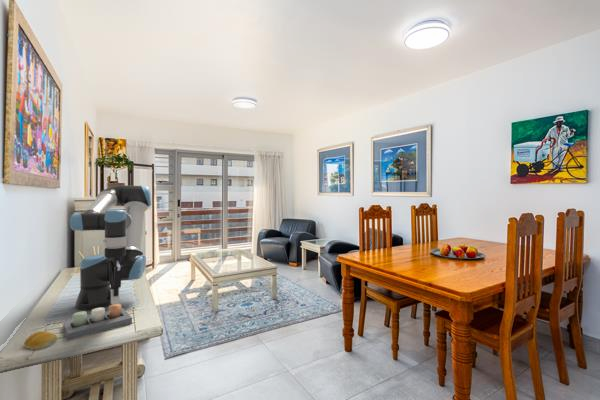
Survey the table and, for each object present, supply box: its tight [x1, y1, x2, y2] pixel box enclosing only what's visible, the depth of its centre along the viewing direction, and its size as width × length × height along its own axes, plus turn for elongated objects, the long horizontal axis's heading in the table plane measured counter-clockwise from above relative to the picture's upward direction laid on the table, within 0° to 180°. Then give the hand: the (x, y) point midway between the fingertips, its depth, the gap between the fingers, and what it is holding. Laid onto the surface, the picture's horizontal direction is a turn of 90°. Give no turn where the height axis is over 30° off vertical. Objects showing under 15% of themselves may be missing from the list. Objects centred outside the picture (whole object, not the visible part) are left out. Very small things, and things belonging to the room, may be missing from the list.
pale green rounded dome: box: [72, 310, 88, 326], centre depth 117 cm, size 4×4×4 cm
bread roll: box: [23, 330, 58, 351], centre depth 106 cm, size 8×9×4 cm
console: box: [62, 307, 133, 341], centre depth 121 cm, size 14×21×2 cm, turn 134°
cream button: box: [90, 307, 106, 322], centre depth 121 cm, size 4×4×4 cm
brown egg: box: [108, 303, 122, 318], centre depth 125 cm, size 4×4×4 cm
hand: (115, 303), depth 124 cm, fingers closed
